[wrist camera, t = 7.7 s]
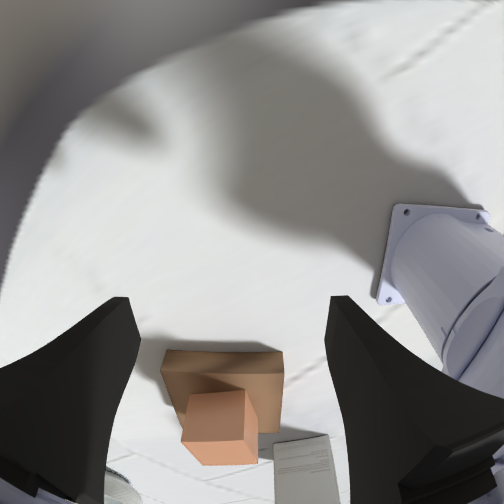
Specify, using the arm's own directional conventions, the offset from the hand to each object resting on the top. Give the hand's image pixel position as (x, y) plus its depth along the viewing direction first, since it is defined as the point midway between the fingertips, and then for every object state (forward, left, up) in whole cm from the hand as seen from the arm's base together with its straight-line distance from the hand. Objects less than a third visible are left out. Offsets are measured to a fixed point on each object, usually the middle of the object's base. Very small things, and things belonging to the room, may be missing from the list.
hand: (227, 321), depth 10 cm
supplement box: (-7, +32, -10) cm, 34 cm away
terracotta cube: (+2, +17, -8) cm, 18 cm away
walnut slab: (+2, +17, -10) cm, 20 cm away
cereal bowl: (+31, +56, -10) cm, 64 cm away
